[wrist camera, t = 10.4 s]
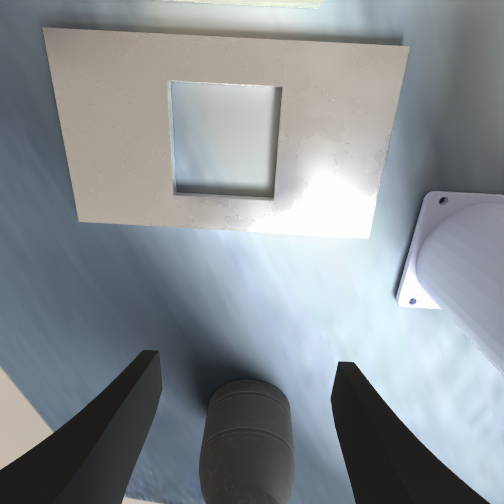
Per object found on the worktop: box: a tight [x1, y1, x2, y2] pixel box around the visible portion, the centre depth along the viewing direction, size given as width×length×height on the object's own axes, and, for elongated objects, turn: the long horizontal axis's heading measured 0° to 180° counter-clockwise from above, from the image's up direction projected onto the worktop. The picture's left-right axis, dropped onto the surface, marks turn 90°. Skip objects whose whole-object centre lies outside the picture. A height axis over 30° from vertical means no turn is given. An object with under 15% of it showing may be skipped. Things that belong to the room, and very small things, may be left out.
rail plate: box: [42, 27, 410, 238], centre depth 17 cm, size 18×10×1 cm, turn 87°
